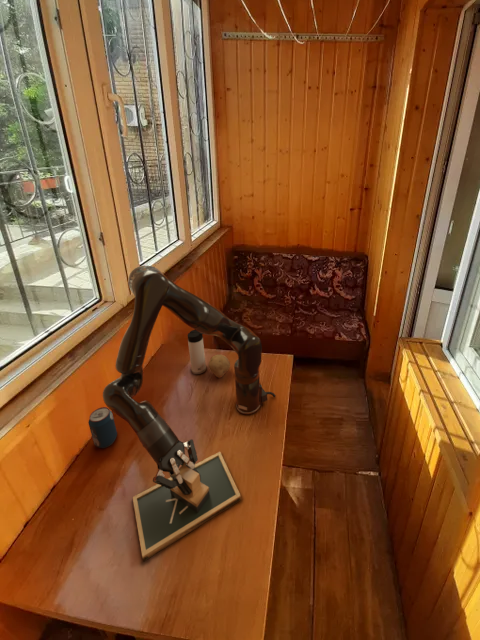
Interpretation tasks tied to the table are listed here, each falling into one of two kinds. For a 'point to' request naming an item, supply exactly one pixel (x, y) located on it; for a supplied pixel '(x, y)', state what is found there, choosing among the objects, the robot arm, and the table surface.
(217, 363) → the natural sponge
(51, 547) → the table surface
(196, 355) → the travel mug
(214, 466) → the chalkboard
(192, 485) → the eraser
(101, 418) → the soda can
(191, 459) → the robot arm
